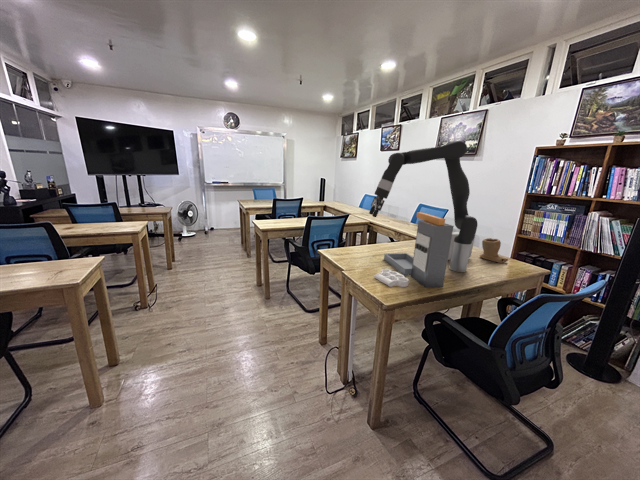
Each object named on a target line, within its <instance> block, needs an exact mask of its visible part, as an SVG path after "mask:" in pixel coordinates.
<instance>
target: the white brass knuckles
mask: <svg viewBox="0 0 640 480" xmlns="http://www.w3.org/2000/svg"><path fill="white" fill-rule="evenodd" d="M405 276H406V275H405ZM405 276H404V275H403V274H402V273H400V272H399V271H398V272H397V271H393V270H391V269H389V268H382V269H381V270H380V272H378V273H376V274H374V275H373V278H374V279H376V280H378V281H380V282H381V283H383V284H385V285H386V286H388V287H390V288H391V287H395V286H398V287H401V288H405V287H406V288H407V287H408V286H409V283H410V279H409V278H407V277H405Z"/></svg>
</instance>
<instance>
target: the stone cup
mask: <svg viewBox="0 0 640 480" xmlns="http://www.w3.org/2000/svg"><path fill="white" fill-rule="evenodd" d="M481 245H482V247H481V248H482V250H483V253H482V254H480V255H479V257H480V258H482V259H483V260H488V261H491V262H495V263H499V264H504V263H507V262H508V261H509V259H508V258H505V257H502V256H499V252H500V249H501V245H502V243H501V240H500V239H499V238H490V237H489V238H483V240H482V242H481Z"/></svg>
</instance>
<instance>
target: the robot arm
mask: <svg viewBox="0 0 640 480" xmlns="http://www.w3.org/2000/svg"><path fill="white" fill-rule="evenodd" d="M467 151H468V145H467V144H466V143H465V142H464V141H462V140H454V141H449V142H448V143H445V145H441V146H434V147H425V148H418V149H411V150H409V151H404V152H395V153H391V155H389V157H388V166H387V168H386V169H385V170H384V172H383V174H382V176H381V178H380V180H379V182H378V184H377V187H376V189H375V191H374V195H375V196H374V198H373V200H372V202H371V204H370V209H369V212H368V214H369V215H372V217H373V218H377V216H378V214H379V212H380V211H382V208H383V206H384V203H385V202H386V200H384V199H388V197H389V195H390V192H391V190H392V188H393V184H394V182H395V180H396V177H397V175H398V174H399V172H400V171H401V169H402V167H403V166H404V165H412V164H413V165H414V164H419V163H420V164H421V163H425V162H429V161H433V160H434V161H435V160H440V159H444V162H445V166H446V168H447V176H448V182H449V189H450V194H451V199H452V205H453V206H452V207H453V215H454V217H453V219H454V226H455V228H457V229H458V230H459V231H458V232H459V235H458V236H456V237H455V238H454V244H453V249H452V255H451V260H449V261H450V262H449V266H448V268H449V270H451V271H452V272H453V271H454V272H456V273H457V272H458V273H465V272H467V267H468V264H469V263H468V262H469V260H470V258H469V254H470V249H471V244H472V241H473V239H474V240H475V238H476V237H475V236H476V232H477V229H478V220H477V218H476V217H474V216H470V215H469V212H468V201H469V197H470V195H471V192H470V183H469V180H468V177H467V175H466V173H465V172H464V169H463V168H462V165H461V158H462V157H464V156H465V155H466V153H467ZM474 237H475V238H474Z"/></svg>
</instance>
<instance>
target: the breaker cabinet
mask: <svg viewBox="0 0 640 480" xmlns="http://www.w3.org/2000/svg"><path fill="white" fill-rule="evenodd" d="M454 226H455V225H452V224H448V223H446V222H445V224H444V225H437V224H434V223H431V222H428V221H425V220H422V219H419V220H418V222H417V230H416V236H415V243H414V244H415V245H414V250H413V256H412V257H413V264H412V272H411V275H410V277H411V279H413V280H415V281H416V282H417V283H418V284H419V285H421V286H422V287H423V288H424V289H427V288H428V289H430V288H431V289H432V288H443V287H444V282H445V276H446V272H447V266H448V261H449V260H448V255H449V249H450V244H451V238H452V232H454Z"/></svg>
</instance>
